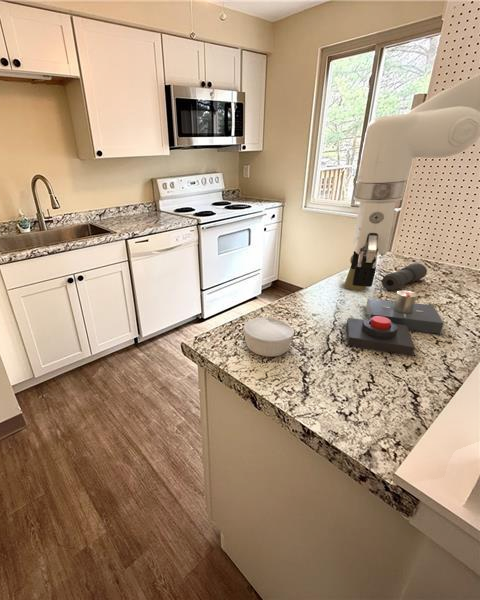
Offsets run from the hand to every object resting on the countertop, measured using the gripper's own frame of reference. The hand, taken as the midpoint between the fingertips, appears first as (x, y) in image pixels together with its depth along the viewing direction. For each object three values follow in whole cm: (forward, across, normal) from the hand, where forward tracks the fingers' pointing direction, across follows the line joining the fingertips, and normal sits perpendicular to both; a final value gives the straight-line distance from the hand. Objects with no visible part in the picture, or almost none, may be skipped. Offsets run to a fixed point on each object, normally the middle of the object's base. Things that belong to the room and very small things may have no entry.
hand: (360, 276), depth 65 cm
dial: (+15, +19, -12) cm, 27 cm away
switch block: (+18, +6, -6) cm, 20 cm away
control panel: (+18, +19, -12) cm, 29 cm away
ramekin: (+18, -6, +16) cm, 25 cm away
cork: (+18, +38, -3) cm, 43 cm away
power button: (+14, +7, -6) cm, 17 cm away
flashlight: (+18, +45, -16) cm, 51 cm away
